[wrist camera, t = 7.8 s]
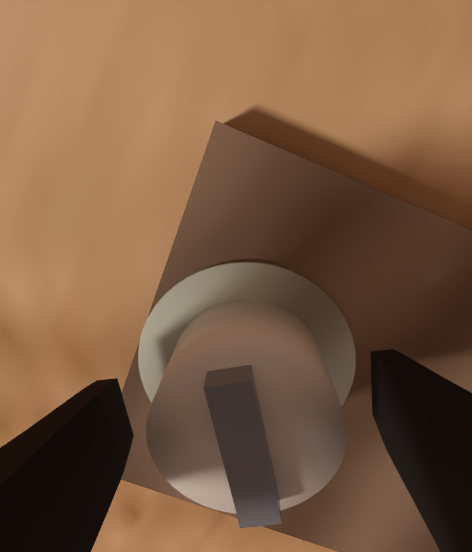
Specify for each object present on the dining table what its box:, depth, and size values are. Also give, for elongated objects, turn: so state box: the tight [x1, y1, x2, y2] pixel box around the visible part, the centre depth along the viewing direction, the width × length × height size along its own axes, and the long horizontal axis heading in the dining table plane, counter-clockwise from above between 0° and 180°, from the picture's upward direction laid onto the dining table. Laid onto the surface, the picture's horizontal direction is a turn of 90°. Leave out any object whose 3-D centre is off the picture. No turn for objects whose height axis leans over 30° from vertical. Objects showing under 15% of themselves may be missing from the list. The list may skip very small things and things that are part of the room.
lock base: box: [121, 121, 472, 552], centre depth 11 cm, size 17×13×3 cm
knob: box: [146, 300, 348, 528], centre depth 9 cm, size 5×5×4 cm
